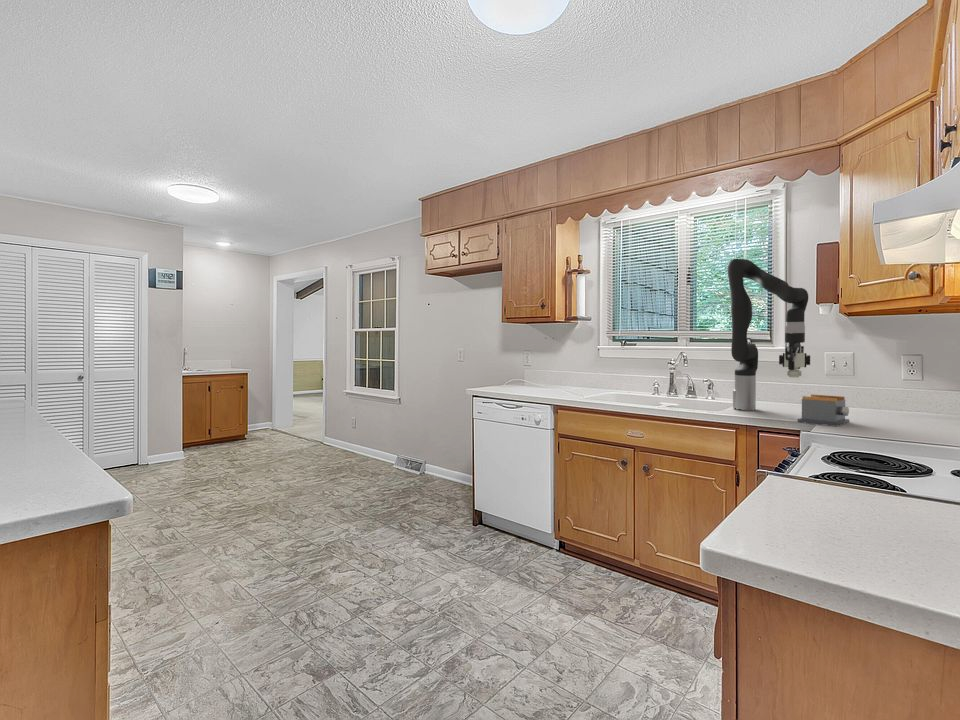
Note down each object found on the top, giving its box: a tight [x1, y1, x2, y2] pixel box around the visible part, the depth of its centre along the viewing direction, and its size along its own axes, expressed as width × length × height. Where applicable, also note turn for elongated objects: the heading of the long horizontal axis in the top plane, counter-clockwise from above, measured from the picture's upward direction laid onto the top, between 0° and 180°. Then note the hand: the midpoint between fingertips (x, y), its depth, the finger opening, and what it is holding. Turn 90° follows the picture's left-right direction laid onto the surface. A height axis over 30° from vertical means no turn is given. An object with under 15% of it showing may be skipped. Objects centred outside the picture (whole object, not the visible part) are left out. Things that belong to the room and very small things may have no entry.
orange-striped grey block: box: [797, 394, 850, 426], centre depth 200 cm, size 15×14×11 cm
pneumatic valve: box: [778, 352, 811, 378], centre depth 216 cm, size 6×12×12 cm, turn 55°
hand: (794, 369), depth 216 cm, fingers closed on pneumatic valve, 6 cm apart
